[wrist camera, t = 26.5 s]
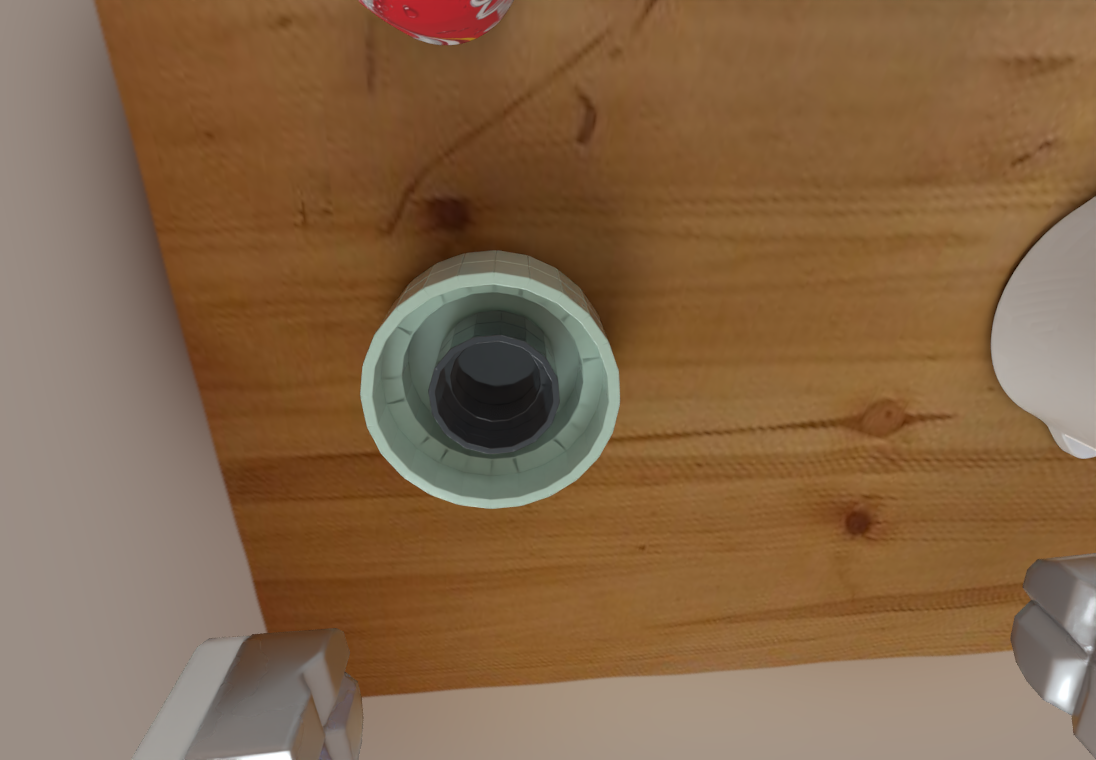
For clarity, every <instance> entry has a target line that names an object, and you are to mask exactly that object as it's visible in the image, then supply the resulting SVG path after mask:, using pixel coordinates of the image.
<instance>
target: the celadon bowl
mask: <svg viewBox="0 0 1096 760" xmlns="http://www.w3.org/2000/svg"><path fill="white" fill-rule="evenodd" d="M497 310H502V311H507V312H510V313H513V314H517V315H520V316H524V317H526V318H527V319H528V320H529V321H531V322H532V323H533V324H535V325H536V326H537V327H538V328H540V329H541V330H542V331H543V332H544V334H545V336H546V338H547V339H548V341H549V343H550V345H551V347H552V349H553V352H554V357H555V363H556V369H557V375H558V383H559V396H560V404H559V407H558V409H557V412H556V415H555V418H554V420H553V423H552V425H551V426H550V427H549V428H548V429H547V430H546V431H545V432H544V433H543V434H542V436H541V437H540V438H539V439H538V440H537V441H536V442H534V443H532V444H530V445H528V446H526V447H523V448H521V449H519V450H517V451H515V452H509V453H498V454H486V453H482V452H478V451H474V450H470V449H466V448H464V447H463V446H461V445H460V444H458V443H457V442H456V441H454V440H453V439H451V438H450V437H448V436H447V435H446V434H445V433H444V432H443V430H442V429H441V427H440V426H439V424H438V423H437V421H436V420H435V418H434V417H433V415H432V412H431V406H430V400H429V394H428V389H429V386H430V382H431V378H432V375H433V371H434V367H435V364H436V361H437V357H438V354H439V351H440V348H441V344H442V341H443V340H444V338H445V337H446V336H447V335H448V333H449V332H450V331H451V330H452V329H453V327H454V326H455V325H456V324H457V323H458V322H460V321H462V320H464V319H466V318H468V317H470V316H472V315H474V314H475V313H478V312H486V311H497ZM360 396H361V397H360V398H361V402H362V407H363V411H364V416H365V421H366V425H367V428H368V430H369V432H370V434H371V435H372V437H373V439H374V441H375V443H376V445H377V447H378V449H379V450H380V452H381V454H382V455H383V456H384V457H385V459H386V460H387V461H388V462H389V463H390V464H391V465H392V466H393V467H394V468H395V469H396V470H397V471H398V472H399V474H400V475H401V476H403V477H404V478H405V479H407V480H408V481H410V482H411V483H413V484H414V485H416V486H417V487H419V488H420V489H422V490H423V491H425V492H427V493H428V494H430V495H433V496H435V497H438V498H441V499H444V500H446V501H449V502H452V503H455V504H457V505H458V504H459V505H464V506H472V507H480V508H488V509H489V508H490V509H494V508H505V507H515V506H521V505H525V504H528V503H531V502H534V501H537V500H540V499H543V498H546V497H550V495H553V494H555V493H556V492H558V491H560V490H561V489H563V488H564V487H566V486H568V485H569V484H571V483H573V482H574V481H576V479H578V478H579V477H580V476H581V475H582V474H583V473H584V472H585V471H586V470H587V469H588V468H589V467H590V466H591V465H592V464H593V463H594V462H595V461H596V460H597V458H599V456H600V454H601V452H602V451H603V449H604V447H605V445H606V444H607V442H608V440H609V438H610V437H611V435H612V433H613V430H614V426H615V422H616V418H617V414H618V410H619V406H620V384H619V370H618V367H617V364H616V361H615V358H614V356H613V353H612V350H611V347H610V344H609V341H608V339H607V336H606V333H605V331H604V328H603V326H602V323H601V321H600V318H599V316H598V313H597V311H596V310H595V308H594V307H593V306H592V304H591V303H590V301H589V300H588V298H587V297H586V296H585V294H584V293H583V291H582V290H581V289H580V288H579V287H578V286H577V285H576V284H575V283H574V282H572V281H571V280H570V279H569V278H568V277H566V276H565V275H564V274H563V273H562V272H560V271H559V270H558V269H556V268H555V267H552V266H550V265H548V264H546V263H544V262H541V261H539V260H537V259H535V258H533V257H531V256H527V255H523V254H517V253H511V252H505V251H499V250H497V251H495V250H493V251H482V252H471V253H463V254H460V255H458V256H455V257H452V258H450V259H447V260H444V261H442V262H439V263H436V264H435V265H433V266H432V267H430V268H429V269H428V270H426V271H425V272H423V273H422V274H421V275H419V276H418V277H417V278H415V279H414V280H412V281H411V283H409V284H408V285H407V287H406V288H405V289H404V291H403V292H402V293H401V294H400V296H399V297H398V298H397V300H396V301H395V302H394V303H393V305H392V306H391V308H390V310H389V311H388V313H387V315H386V316H385V318H384V320H383V321H382V323H381V325H380V326H379V328H378V330H377V331H376V333H375V335H374V337H373V339H372V342H371V344H370V347H369V350H368V352H367V355H366V357H365V360H364V362H363V366H362V378H361V391H360Z"/></svg>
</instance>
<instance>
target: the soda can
mask: <svg viewBox="0 0 1096 760" xmlns="http://www.w3.org/2000/svg"><path fill="white" fill-rule="evenodd" d="M358 1H359V2H360V3H361V4H362V5H364V6H365V7H366V8H368V9H369V10H370V11H372V12H373V13H374V14H376V15H377V16H378V17H380V18H381V19H383V20H384V21H386V22H387V23H389V24H390V25H392V26H393V27H395V28H397V29H398V30H400V31H402V32H404V33H406V34H408V35H410V36H411V37H413V38H415V39H418V40H421V41H424V42H427V43H431V44H437V45H456V44H461V43H466V42H468V41H471V40H474V39H476V38H478V37H480V36H482V35H483V34H485V33H487V32H488V31H489V30H490V29H492V28H493V27H494V26H495V25H496V24H497V23H498V22H499V21H500V20H501V19H502V17H503V16H504V15H505V14H506V12H507V11H508V9H509V8H510V6H511V4H512V3H513V1H514V0H358Z"/></svg>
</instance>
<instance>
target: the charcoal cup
mask: <svg viewBox="0 0 1096 760" xmlns="http://www.w3.org/2000/svg"><path fill="white" fill-rule="evenodd" d="M428 394H429V400H430V406H431V412H432V415H433V417H434V418H435V420H436V421H437V423H438V424H439V426H440V427H441V429H442V430H443V432H444V433H445V434H446V435H447V436H448V437H450V438H451V439H453V440H454V441H456V442H457V443H458V444H460V445H461V446H463V447H464V448H466V449H470V450H474V451H478V452H482V453H486V454H498V453H509V452H515V451H517V450H519V449H521V448H523V447H526V446H528V445H530V444H532V443H534V442H536V441H537V440H538V439H539V438H540V437H541V436H542V434H543V433H544V432H545V431H546V430H547V429H548V428H549V427H550V426H551V425H552V423H553V420H554V418H555V415H556V412H557V409H558V407H559V404H560V396H559V383H558V375H557V369H556V363H555V357H554V352H553V349H552V347H551V345H550V343H549V341H548V339H547V338H546V336H545V334H544V332H543V331H542V330H541V329H540V328H538V327H537V326H536V325H535V324H533V323H532V322H531V321H529V320H528V319H527V318H526V317H524V316H520V315H517V314H513V313H510V312H507V311H502V310H497V311H486V312H478V313H475V314H474V315H472V316H470V317H468V318H466V319H464V320H462V321H460V322H458V323H457V324H456V325H455V326H454V327H453V329H452V330H451V331H450V332H449V333H448V335H447V336H446V337H445V338H444V340H443V341H442V344H441V348H440V351H439V354H438V357H437V361H436V364H435V367H434V371H433V375H432V378H431V382H430V386H429V389H428Z"/></svg>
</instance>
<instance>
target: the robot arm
mask: <svg viewBox="0 0 1096 760" xmlns="http://www.w3.org/2000/svg"><path fill="white" fill-rule="evenodd" d="M991 357H992V363H993V367H994V371H995V373H996V376H997V379H998V381H999V383H1000V385H1001V386H1002V388H1003V390H1004V391H1005V392H1006V394H1007V395H1008V396H1009V397H1010V398H1011V399H1012V401H1013V402H1015V403H1016V404H1017V405H1018V406H1019V407H1021V408H1022V409H1024V410H1025V411H1027V412H1029V413H1031V414H1032V415H1034V416H1036V417H1037V418H1039V419H1040V420H1042V421H1043V422H1044V423H1045V424H1046V425H1047V426H1048V428H1049V430H1050V432H1051V434H1052V436H1053V438H1054V440H1055V441H1056V443H1057V445H1058V446H1059V447H1060V448H1061V449H1062V450H1063V451H1065V452H1067V453H1069V454H1071V455H1073V456H1075V457H1078V458H1083V459H1085V458H1091V457H1095V456H1096V196H1095V197H1093V198H1092V199H1091V200H1089V201H1088V202H1086V203H1085V204H1083V205H1082V206H1080V207H1079V208H1077V209H1076V210H1074V211H1073V212H1071V213H1070V214H1068V215H1067V216H1066V217H1064V218H1063V219H1062V220H1060V221H1059V222H1058V223H1057V224H1056V225H1054V226H1053V227H1052V228H1051V229H1050V230H1049V231H1048V232H1047V233H1046V234H1044V235H1043V236H1042V237H1041V239H1040V240H1039V241H1038V242H1037V243H1036V244H1035V245H1034V246H1033V247H1032V248H1031V249H1030V251H1029V252H1028V253H1027V254H1026V256H1025V257H1024V258H1023V260H1022V261H1021V262H1020V264H1019V265H1018V267H1017V268H1016V270H1015V271H1014V273H1013V274H1012V276H1011V278H1010V280H1009V281H1008V283H1007V285H1006V287H1005V289H1004V291H1003V294H1002V296H1001V298H1000V301H999V304H998V306H997V310H996V313H995V317H994V321H993V326H992V333H991ZM1023 588H1024V590H1025V591H1026V593H1027V594H1028V596H1029V597H1030V599H1031V601H1030V602H1029V603H1028V604H1027V605H1026V606H1025V607H1024V608H1023V609H1022V610H1021V611H1020V612H1019V613H1018V614H1017V615H1016V616H1015V618H1014V623H1013V628H1012V633H1011V638H1010V639H1011V643H1012V647H1013V651H1014V656H1015V660H1016V663H1017V665H1018V666H1019V668H1020V670H1021V672H1022V674H1023V675H1024V677H1025V679H1026V680H1027V682H1028V683H1029V684H1030V685H1031V686H1032V688H1033V689H1034V690H1035V691H1036V692H1037V693H1038V695H1039V696H1040V697H1041V698H1042V699H1043V700H1044V701H1046V702H1048V703H1050V704H1052V705H1053V706H1055V707H1057V708H1059V709H1061V710H1063V711H1064V712H1066V713H1068V714H1070V715H1072V724H1073V733H1074V735H1075V736H1076V738H1077V739H1078V740H1079V741H1080V742H1081V743H1082V744H1083V745H1084V746H1085V748H1086V749H1087V750H1088V751H1089V752H1090V753H1091V754H1092V755H1093V757H1094V758H1095V759H1096V553H1093V554H1084V555H1074V556H1065V557H1055V558H1046V559H1037V560H1036V561H1035V562H1034V563H1033V564H1032V565H1031V566H1030V567H1029V568H1028V569H1027V573H1026V576H1025V580H1024V583H1023ZM349 655H350V651H349V648H348V645H347V642H346V638H345V635H344V632H343V631H341V630H339V629H337V628H332V629H319V630H305V631H291V632H278V633H264V634H252V635H251V636H237V637H222V638H209V639H208V640H206V641H205V642H203V643H202V644H201V645H199V646H198V647H197V648H196V650H195V651H194V653H193V655H192V656H191V658H190V660H189V662H188V663H187V665H186V667H185V668H184V670H183V672H182V674H181V675H180V677H179V679H178V681H177V682H176V684H175V686H174V687H173V689H172V690H171V692H170V694H169V696H168V698H167V699H166V701H165V702H164V704H163V706H162V707H161V710H160V711H159V713H158V714H157V716H156V718H155V720H154V721H153V723H152V725H151V726H150V728H149V730H148V731H147V733H146V735H145V737H144V738H143V740H142V742H141V743H140V745H139V747H138V749H137V750H136V752H135V753H134V755H133V757H132V759H131V760H358V758H359V753H360V749H361V744H362V729H363V709H362V697H361V693H360V689H359V685H358V681H356V680H355V679H354V678H353V677H351V676H350V675H349V674H347V673H346V672H345V669H346V665H347V662H348V658H349Z"/></svg>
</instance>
